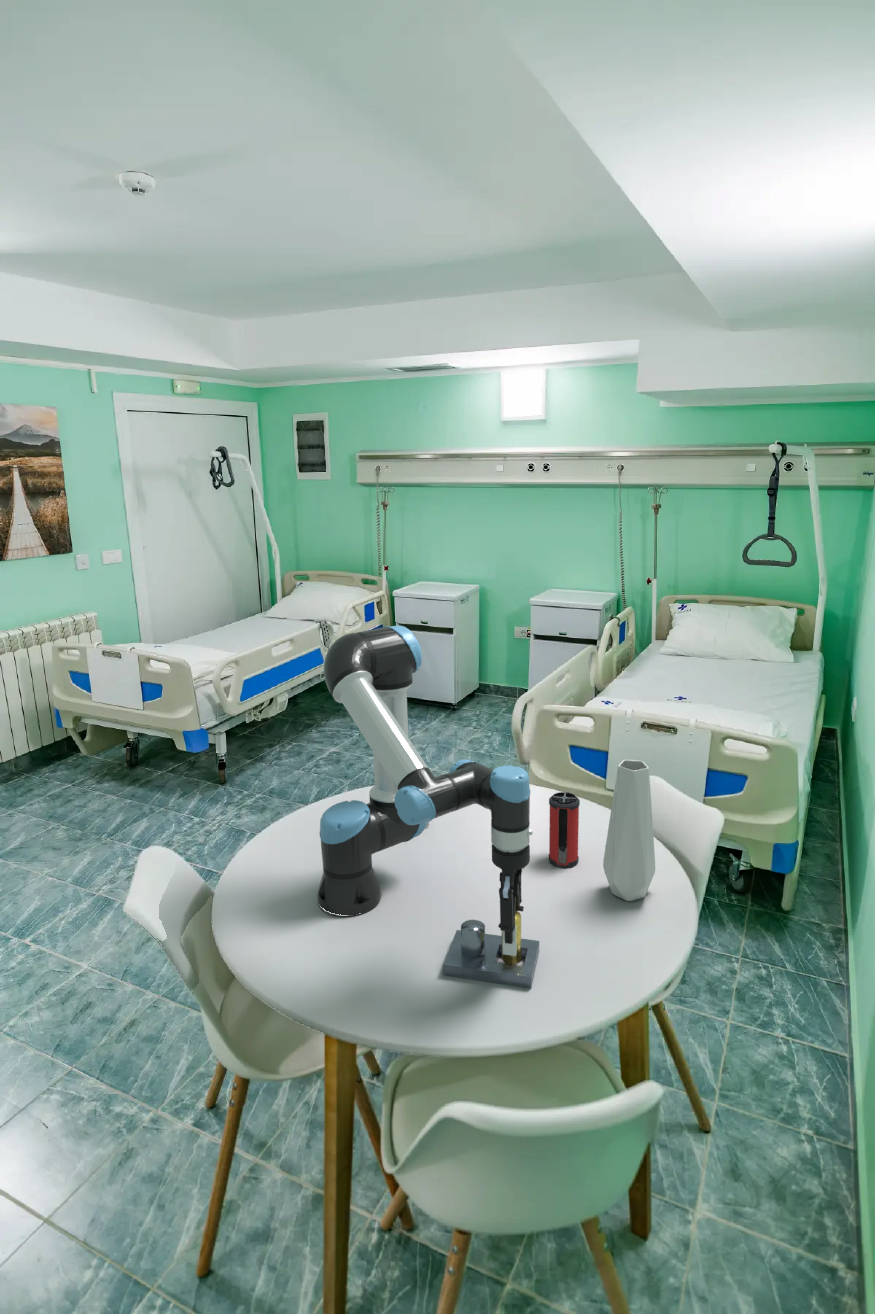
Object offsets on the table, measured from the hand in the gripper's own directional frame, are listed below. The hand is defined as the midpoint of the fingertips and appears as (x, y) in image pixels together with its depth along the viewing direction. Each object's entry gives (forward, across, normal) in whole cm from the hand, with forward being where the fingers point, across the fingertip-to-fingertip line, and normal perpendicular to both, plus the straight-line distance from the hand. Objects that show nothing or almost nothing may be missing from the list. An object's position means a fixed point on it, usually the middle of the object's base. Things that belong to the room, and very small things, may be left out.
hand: (511, 946), depth 155 cm
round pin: (+3, 0, 0) cm, 3 cm away
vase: (+5, +33, -22) cm, 40 cm away
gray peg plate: (+5, 0, +4) cm, 6 cm away
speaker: (+5, +45, -6) cm, 45 cm away
